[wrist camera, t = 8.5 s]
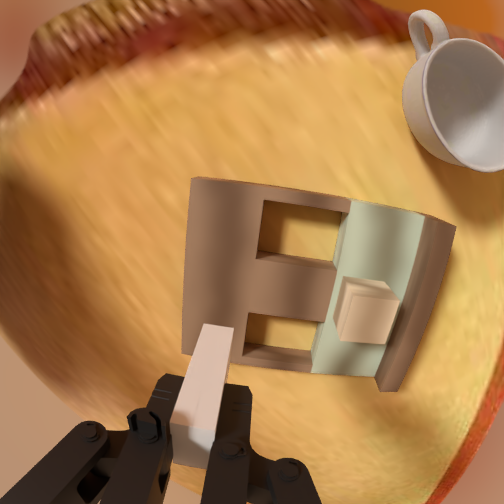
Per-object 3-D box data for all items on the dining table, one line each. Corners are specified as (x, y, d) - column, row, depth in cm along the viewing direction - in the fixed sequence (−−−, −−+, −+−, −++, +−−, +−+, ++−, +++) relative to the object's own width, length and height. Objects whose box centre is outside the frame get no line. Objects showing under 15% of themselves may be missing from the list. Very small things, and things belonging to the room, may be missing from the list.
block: (332, 316, 27) (340, 340, 23) (342, 275, 26) (353, 295, 22) (372, 321, 27) (384, 344, 23) (384, 281, 25) (400, 301, 22)
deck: (187, 340, 32) (174, 368, 27) (198, 176, 27) (182, 180, 22) (384, 363, 31) (397, 391, 26) (430, 215, 26) (456, 226, 21)
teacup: (489, 155, 23) (539, 160, 16) (408, 179, 25) (452, 188, 17) (445, 30, 20) (485, 4, 12) (357, 39, 22) (383, 2, 14)
